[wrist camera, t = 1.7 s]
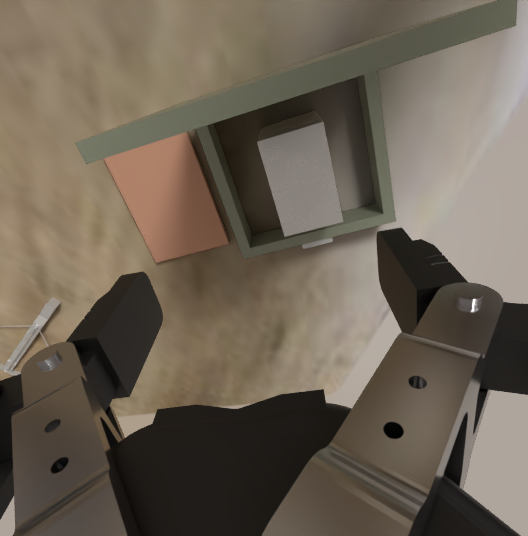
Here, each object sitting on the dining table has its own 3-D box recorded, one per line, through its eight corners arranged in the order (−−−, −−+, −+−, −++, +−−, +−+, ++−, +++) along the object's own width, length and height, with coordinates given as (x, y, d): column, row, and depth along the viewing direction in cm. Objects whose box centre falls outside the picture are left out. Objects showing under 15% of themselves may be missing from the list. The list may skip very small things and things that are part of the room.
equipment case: (364, 40, 29) (517, -6, 10) (387, 215, 36) (502, 368, 18) (193, 98, 31) (74, 142, 13) (247, 250, 38) (220, 417, 20)
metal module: (315, 110, 31) (324, 121, 25) (333, 194, 35) (344, 221, 29) (259, 128, 32) (255, 142, 26) (282, 208, 36) (283, 237, 30)
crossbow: (54, 385, 52) (46, 396, 50) (-33, 339, 48) (-45, 351, 46) (104, 326, 45) (96, 337, 43) (6, 268, 41) (-6, 277, 39)
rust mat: (186, 126, 32) (184, 127, 32) (229, 241, 38) (229, 243, 37) (104, 153, 34) (101, 154, 33) (157, 260, 39) (156, 262, 39)
